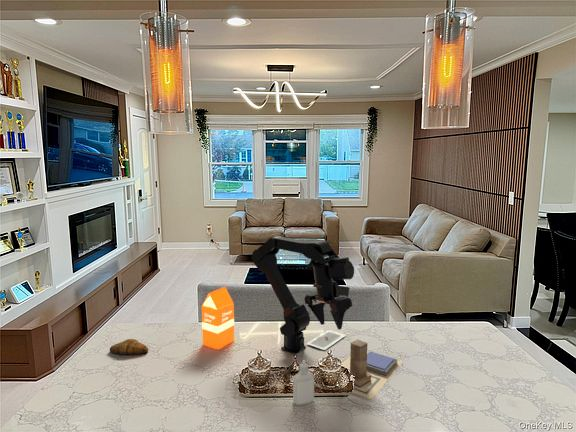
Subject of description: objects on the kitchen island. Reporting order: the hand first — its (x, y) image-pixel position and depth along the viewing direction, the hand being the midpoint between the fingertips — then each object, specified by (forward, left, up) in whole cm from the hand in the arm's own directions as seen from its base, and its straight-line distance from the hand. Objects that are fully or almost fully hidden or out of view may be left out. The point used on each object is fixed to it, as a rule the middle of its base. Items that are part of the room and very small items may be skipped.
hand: (331, 326), depth 130 cm
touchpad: (-9, +13, -13) cm, 20 cm away
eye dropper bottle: (+5, -23, -13) cm, 27 cm away
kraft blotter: (+12, +1, -12) cm, 17 cm away
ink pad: (+14, +7, -12) cm, 19 cm away
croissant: (-60, -35, -13) cm, 71 cm away
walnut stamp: (+12, -5, -12) cm, 18 cm away
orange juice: (-40, -11, -13) cm, 44 cm away
